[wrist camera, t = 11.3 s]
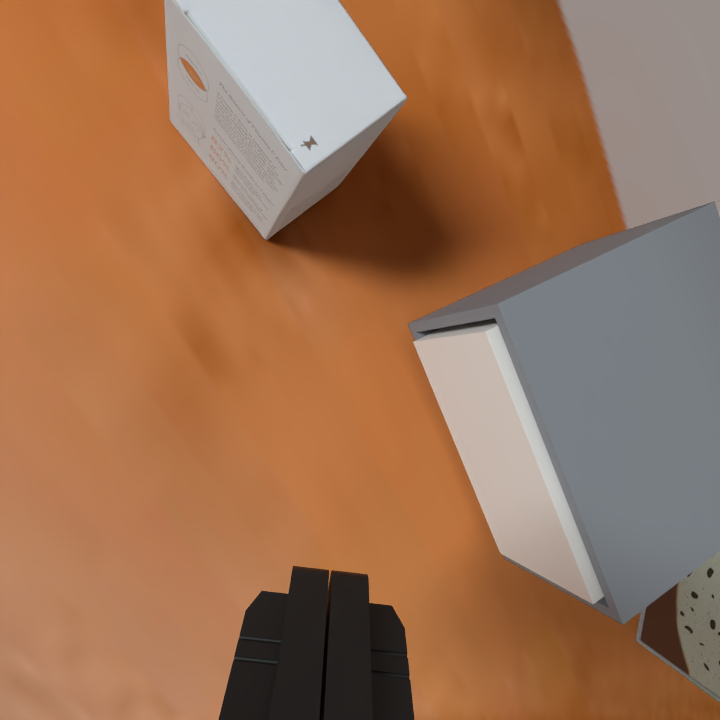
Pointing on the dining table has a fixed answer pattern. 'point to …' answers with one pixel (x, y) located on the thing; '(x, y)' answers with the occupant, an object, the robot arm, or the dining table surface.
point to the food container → (688, 627)
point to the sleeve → (623, 394)
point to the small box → (275, 98)
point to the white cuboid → (506, 453)
